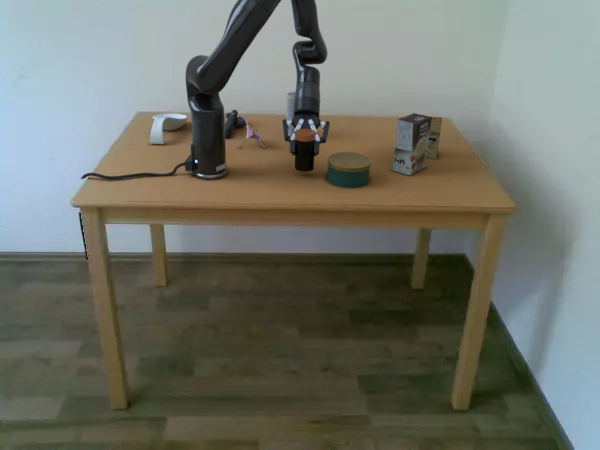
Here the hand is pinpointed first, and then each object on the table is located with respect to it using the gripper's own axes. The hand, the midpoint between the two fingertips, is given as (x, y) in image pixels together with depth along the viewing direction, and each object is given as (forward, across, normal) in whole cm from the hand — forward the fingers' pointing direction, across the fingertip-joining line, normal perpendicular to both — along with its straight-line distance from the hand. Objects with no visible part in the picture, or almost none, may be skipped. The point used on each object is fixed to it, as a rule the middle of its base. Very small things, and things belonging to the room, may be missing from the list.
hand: (304, 154), depth 167 cm
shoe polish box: (-11, +39, +22) cm, 46 cm away
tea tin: (+2, 0, +5) cm, 5 cm away
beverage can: (-19, -5, +30) cm, 36 cm away
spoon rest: (-18, -48, +29) cm, 59 cm away
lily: (-12, -18, +22) cm, 31 cm away
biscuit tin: (+5, +13, +6) cm, 15 cm away
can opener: (-22, -27, +33) cm, 47 cm away
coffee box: (-2, +32, +13) cm, 34 cm away
